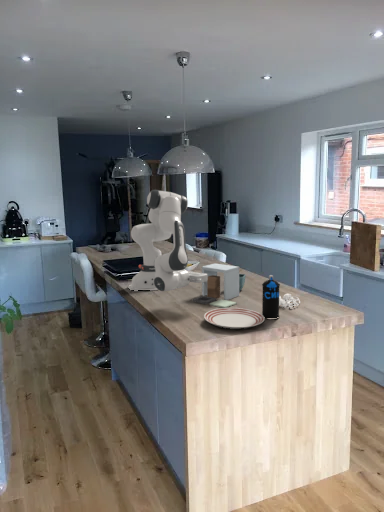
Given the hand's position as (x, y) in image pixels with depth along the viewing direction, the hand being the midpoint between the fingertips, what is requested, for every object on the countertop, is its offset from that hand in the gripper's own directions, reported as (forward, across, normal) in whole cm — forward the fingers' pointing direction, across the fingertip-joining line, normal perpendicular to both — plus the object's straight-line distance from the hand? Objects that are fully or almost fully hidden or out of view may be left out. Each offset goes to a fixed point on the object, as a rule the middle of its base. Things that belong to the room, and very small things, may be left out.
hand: (199, 273), depth 227 cm
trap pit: (+4, 0, +16) cm, 16 cm away
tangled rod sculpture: (+27, -36, +17) cm, 48 cm away
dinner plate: (-15, -33, +17) cm, 40 cm away
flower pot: (+34, 0, +16) cm, 37 cm away
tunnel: (+18, 0, +16) cm, 24 cm away
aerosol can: (+2, -42, +17) cm, 45 cm away
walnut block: (+12, 0, +16) cm, 20 cm away
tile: (+5, -12, +16) cm, 20 cm away
